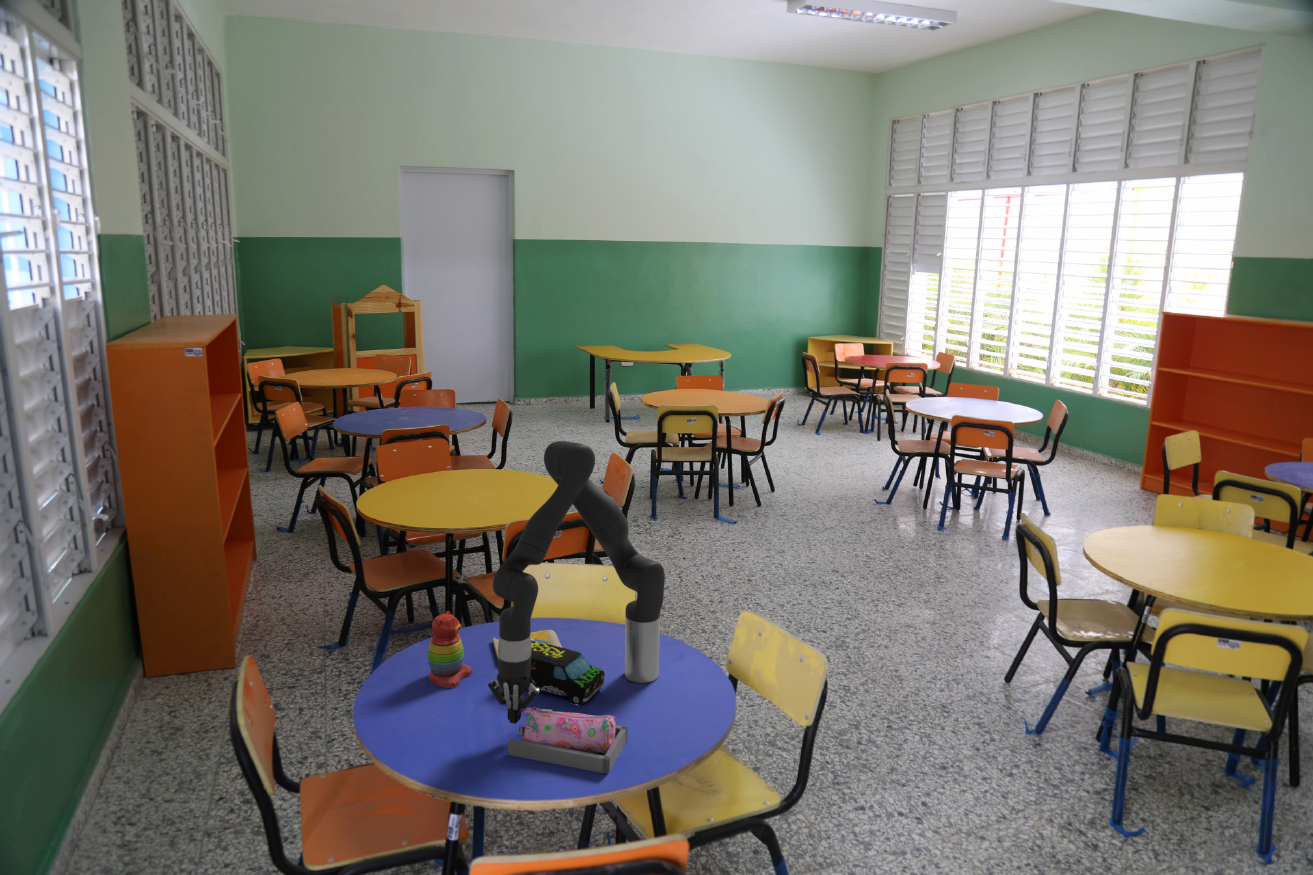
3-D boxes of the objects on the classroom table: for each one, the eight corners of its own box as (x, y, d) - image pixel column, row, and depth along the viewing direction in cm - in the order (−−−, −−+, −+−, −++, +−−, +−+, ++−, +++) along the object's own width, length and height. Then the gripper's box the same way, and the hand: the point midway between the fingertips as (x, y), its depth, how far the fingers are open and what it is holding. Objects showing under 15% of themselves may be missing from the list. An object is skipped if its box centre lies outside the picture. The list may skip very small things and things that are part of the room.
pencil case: (517, 753, 193) (517, 717, 191) (530, 731, 202) (530, 697, 200) (609, 765, 190) (609, 728, 188) (618, 742, 198) (619, 707, 196)
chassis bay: (533, 723, 206) (532, 710, 205) (627, 740, 199) (627, 726, 198) (507, 754, 193) (507, 740, 192) (608, 773, 186) (608, 759, 186)
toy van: (586, 709, 213) (586, 672, 211) (504, 686, 223) (504, 651, 221) (607, 690, 222) (607, 655, 220) (528, 668, 233) (527, 635, 230)
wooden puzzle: (491, 642, 249) (491, 631, 248) (555, 635, 254) (555, 624, 253) (499, 670, 232) (499, 658, 232) (567, 661, 238) (567, 649, 237)
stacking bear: (453, 689, 221) (451, 626, 217) (419, 683, 224) (417, 620, 220) (475, 671, 231) (473, 609, 227) (442, 664, 234) (440, 604, 230)
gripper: (548, 651, 197) (546, 718, 200) (496, 641, 200) (495, 708, 204) (534, 665, 190) (533, 735, 193) (481, 655, 193) (481, 724, 197)
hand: (514, 721), depth 199 cm, fingers closed
